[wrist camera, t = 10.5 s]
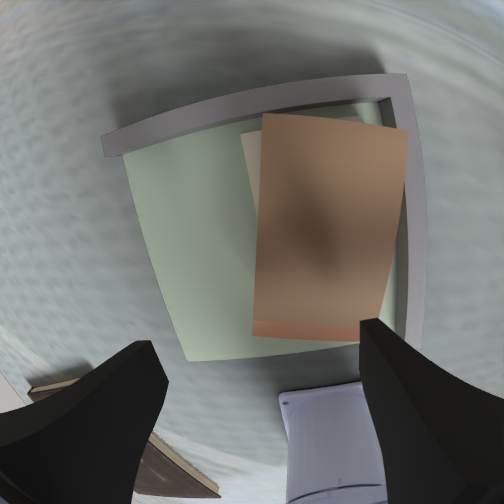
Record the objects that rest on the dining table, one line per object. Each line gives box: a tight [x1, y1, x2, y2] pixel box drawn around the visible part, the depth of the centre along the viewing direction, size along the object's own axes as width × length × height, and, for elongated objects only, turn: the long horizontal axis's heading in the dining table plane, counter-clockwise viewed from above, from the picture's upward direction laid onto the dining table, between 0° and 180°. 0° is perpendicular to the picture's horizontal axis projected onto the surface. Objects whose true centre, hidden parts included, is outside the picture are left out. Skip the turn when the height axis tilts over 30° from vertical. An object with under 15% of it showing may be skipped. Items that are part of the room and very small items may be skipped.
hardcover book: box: [27, 377, 221, 498], centre depth 27 cm, size 16×23×2 cm
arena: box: [101, 74, 428, 361], centre depth 16 cm, size 16×16×2 cm
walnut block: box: [252, 113, 408, 342], centre depth 13 cm, size 9×5×5 cm, turn 178°
